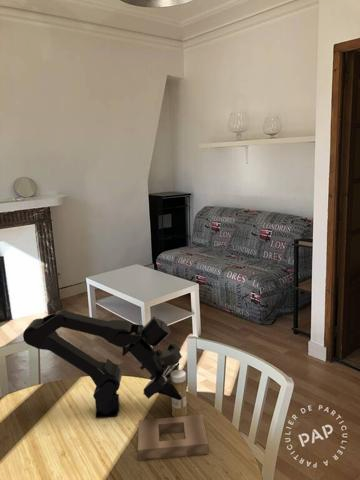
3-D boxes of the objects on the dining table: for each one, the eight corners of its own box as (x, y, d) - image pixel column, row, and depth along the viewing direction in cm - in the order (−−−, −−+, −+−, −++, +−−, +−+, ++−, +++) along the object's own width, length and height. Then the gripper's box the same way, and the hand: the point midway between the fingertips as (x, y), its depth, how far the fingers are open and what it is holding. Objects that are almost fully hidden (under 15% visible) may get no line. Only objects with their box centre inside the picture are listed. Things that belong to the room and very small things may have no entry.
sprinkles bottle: (190, 415, 123) (188, 373, 121) (177, 421, 121) (175, 378, 118) (181, 407, 127) (180, 367, 124) (168, 413, 125) (167, 372, 122)
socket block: (138, 460, 107) (137, 450, 106) (139, 429, 118) (138, 420, 118) (208, 453, 108) (207, 443, 107) (202, 424, 120) (202, 414, 119)
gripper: (152, 355, 112) (192, 398, 111) (174, 326, 129) (209, 363, 128) (126, 377, 116) (166, 419, 115) (151, 347, 133) (185, 383, 132)
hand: (183, 394), depth 122 cm, fingers closed on sprinkles bottle, 4 cm apart
